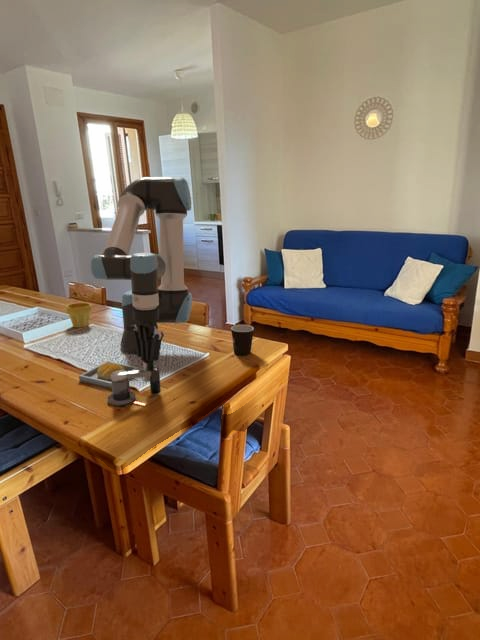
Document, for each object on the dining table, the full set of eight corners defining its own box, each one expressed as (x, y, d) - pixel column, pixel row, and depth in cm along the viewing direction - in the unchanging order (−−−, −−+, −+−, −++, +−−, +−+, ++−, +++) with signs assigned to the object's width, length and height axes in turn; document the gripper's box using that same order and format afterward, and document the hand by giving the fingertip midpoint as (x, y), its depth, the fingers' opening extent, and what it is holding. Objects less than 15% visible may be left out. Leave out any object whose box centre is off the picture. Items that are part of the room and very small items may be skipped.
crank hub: (102, 403, 121) (99, 382, 119) (120, 391, 128) (118, 371, 126) (136, 412, 116) (135, 390, 114) (153, 399, 123) (152, 379, 121)
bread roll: (111, 368, 144) (110, 357, 142) (129, 374, 139) (128, 363, 138) (91, 376, 137) (90, 365, 136) (109, 383, 132) (108, 371, 131)
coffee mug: (251, 357, 155) (251, 332, 152) (228, 356, 156) (228, 331, 153) (256, 347, 166) (256, 323, 163) (235, 345, 167) (235, 321, 164)
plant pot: (84, 320, 198) (81, 301, 195) (97, 324, 192) (95, 304, 189) (64, 326, 190) (61, 305, 187) (77, 330, 184) (74, 309, 181)
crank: (113, 402, 120) (111, 378, 118) (112, 394, 124) (110, 371, 122) (161, 394, 124) (160, 372, 122) (159, 387, 129) (158, 365, 126)
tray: (79, 381, 135) (78, 375, 134) (108, 366, 147) (107, 360, 146) (112, 389, 130) (111, 383, 129) (139, 372, 141) (138, 367, 141)
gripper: (121, 304, 122) (126, 377, 129) (149, 313, 114) (152, 390, 121) (142, 300, 127) (145, 370, 134) (170, 308, 120) (171, 382, 127)
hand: (148, 380), depth 128 cm, fingers closed
